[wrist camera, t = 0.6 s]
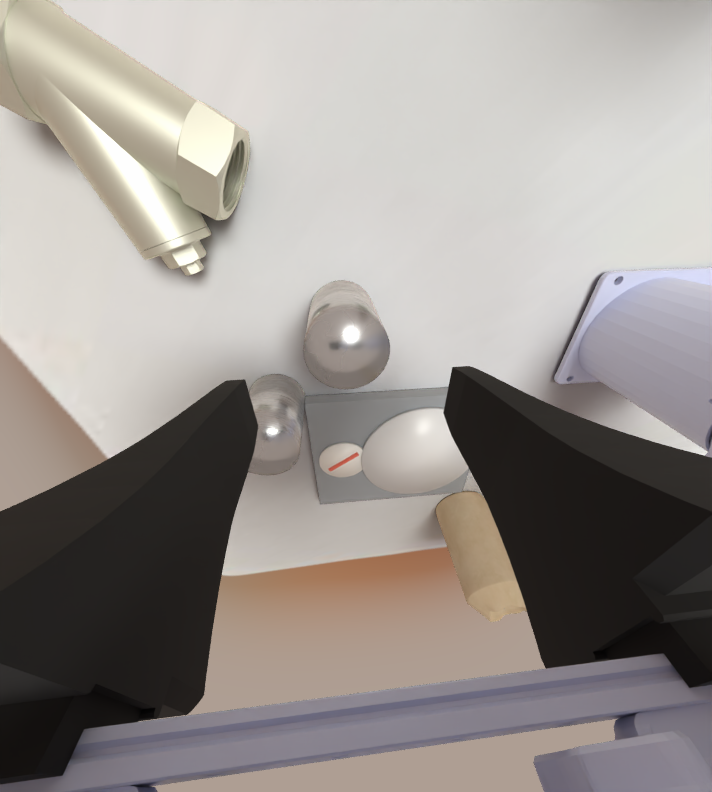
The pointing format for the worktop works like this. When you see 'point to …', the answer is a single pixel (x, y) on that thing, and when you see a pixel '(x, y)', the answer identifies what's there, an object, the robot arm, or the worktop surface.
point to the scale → (383, 445)
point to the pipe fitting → (124, 130)
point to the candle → (479, 555)
